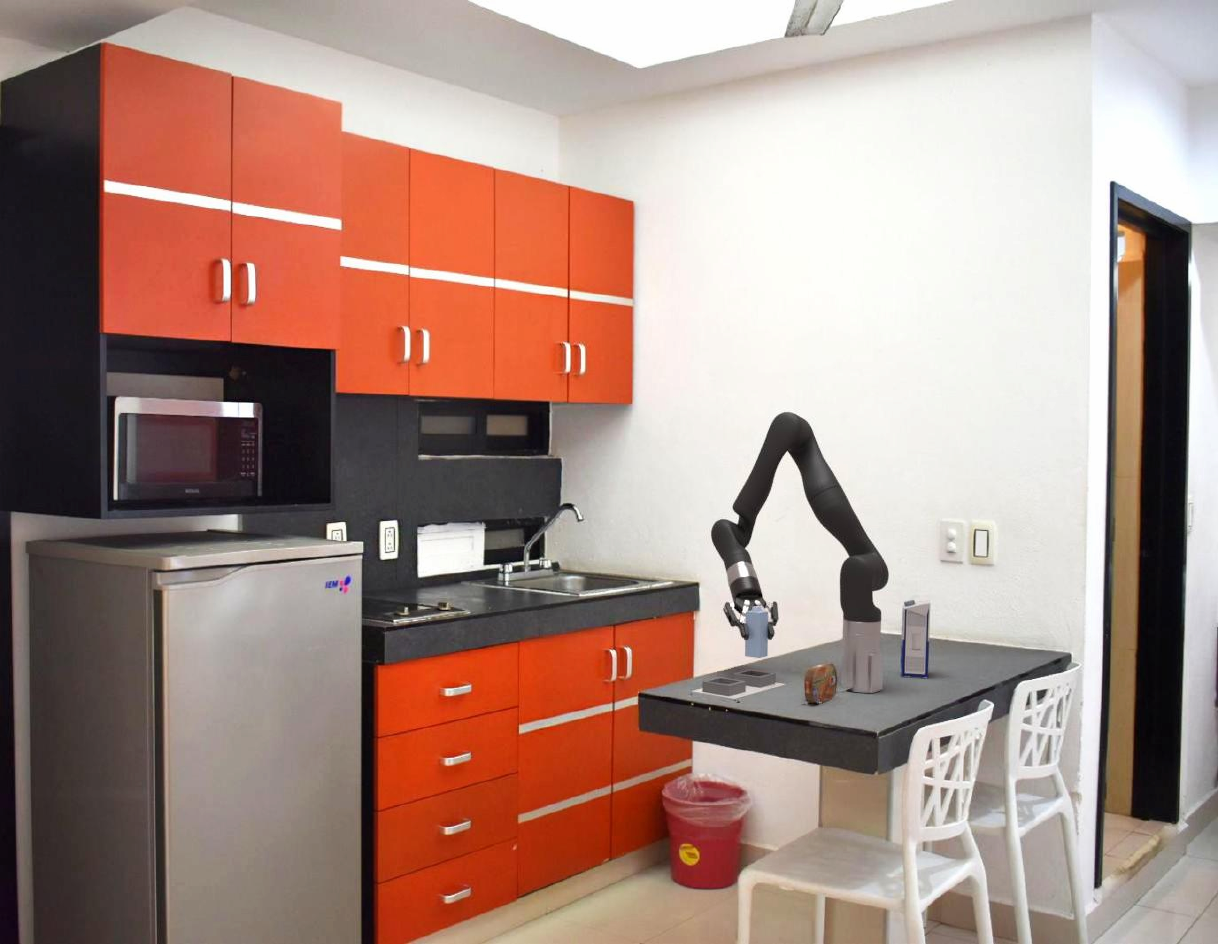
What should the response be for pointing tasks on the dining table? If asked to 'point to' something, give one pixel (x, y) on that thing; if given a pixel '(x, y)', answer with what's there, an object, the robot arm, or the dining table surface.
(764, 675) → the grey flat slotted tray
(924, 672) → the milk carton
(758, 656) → the plug
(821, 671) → the tin
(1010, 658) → the dining table surface
